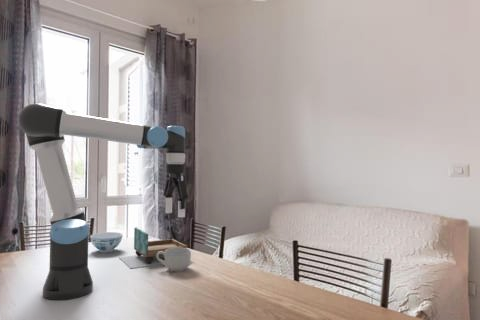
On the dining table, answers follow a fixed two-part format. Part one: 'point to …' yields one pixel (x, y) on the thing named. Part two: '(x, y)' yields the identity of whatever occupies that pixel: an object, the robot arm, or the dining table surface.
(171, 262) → the teacup
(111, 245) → the chinaware
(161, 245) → the cart
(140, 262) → the track mat
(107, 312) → the dining table surface
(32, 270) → the dining table surface
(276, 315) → the dining table surface
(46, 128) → the robot arm
